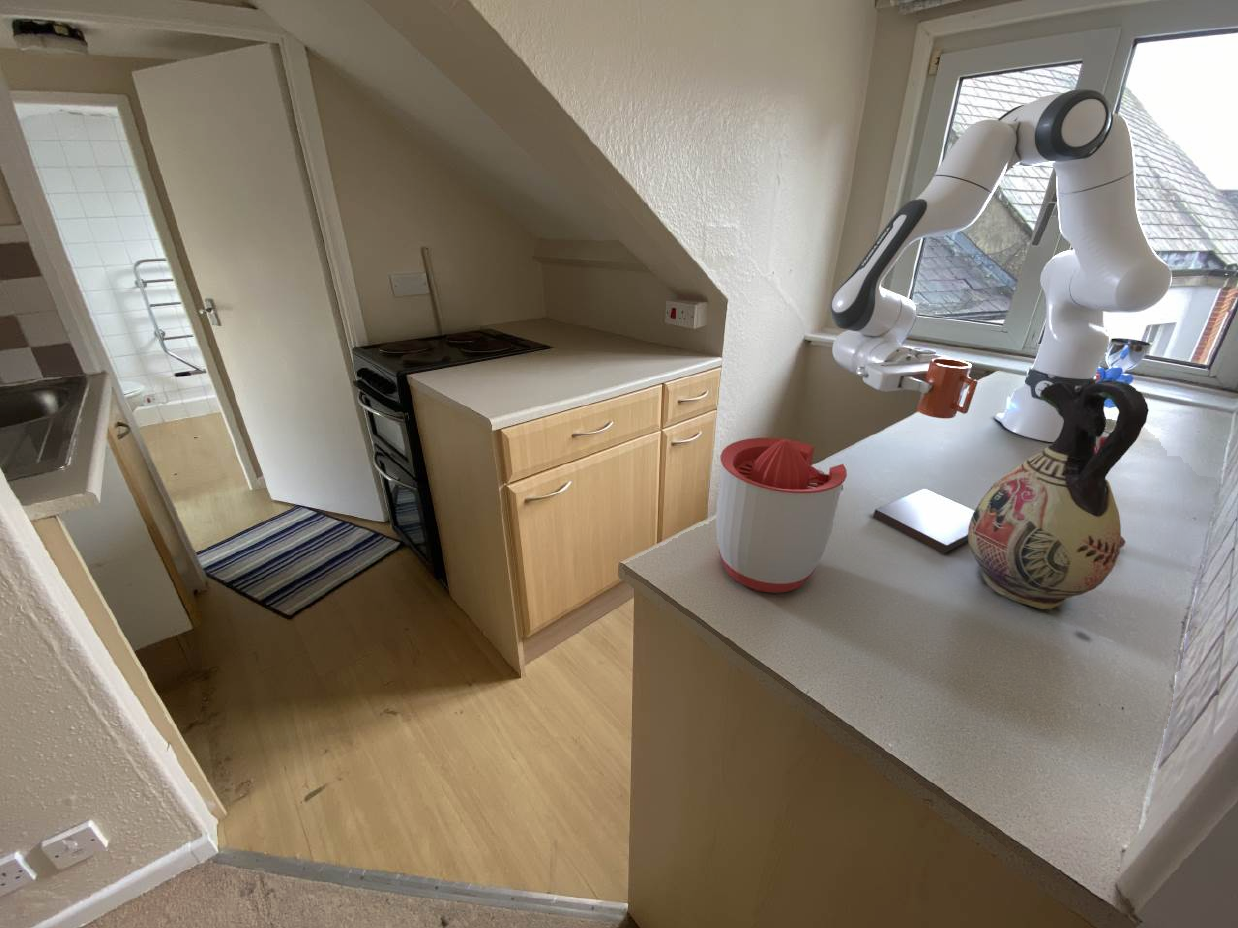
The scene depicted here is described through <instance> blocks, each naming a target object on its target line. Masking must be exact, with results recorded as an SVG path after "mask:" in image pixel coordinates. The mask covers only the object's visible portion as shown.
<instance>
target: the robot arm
mask: <svg viewBox="0 0 1238 928" xmlns="http://www.w3.org/2000/svg"><path fill="white" fill-rule="evenodd" d="M1134 151H1135V150H1134V145H1133V139H1132V135H1131V131H1130V128H1129V125H1128V122H1127V120H1126V118H1125V117H1124V116H1122V115H1120V114H1117V113H1112V110H1111V106H1110V103H1109V101H1108V100H1107V98H1106V96H1104V95H1103V93H1101V92H1099V91H1097V90H1094V89H1088V88H1078V89H1071V90H1068V91H1066V92H1065V91H1064V92H1059V93H1053V94H1049V95H1045V96H1042V97H1039V98H1037V99H1036V100H1035V99H1034V100H1033V101H1031V102H1027V103H1026V104H1022V105H1018V106H1015V107H1013V108H1012V109H1009V110H1008V111H1007V112H1005V113H1004V114H1002V115H1001V116H1000V117H999V118H997V119H983V120H979V121H975V123H972V124H971V125H969V126H968V127H967V128H965V130H964V131H963V132H962V134H961V135H960V136H959V138H958V139H957V140H956V141H955V142H954V144H953V145H952V147H951V149H949V151H948V152H947V153H946V155H945V157H944V159H943V160H942V162H941V163H940V165H939V167H938V168H937V170H936V172H935V173H934V175H933V177H932V178H931V181H930V182H929V183H928V185H927V186H926V188H925V189H924V190H923V191H922V192H921V193H920V195H918V196H917V197H916V198H914V199H913V200H909V201H907V202H906V203H904V204H903V205H902V206H901V207H900V208H899V209H898V210H897V212H896V213H895V214H894V215H893V216H892V218H891V219H890V220H889V222H888V223H887V224H886V226H885V227H884V228H883V229H882V231H881V232H880V234H879V235H878V237H877V238H876V240H875V241H874V243H873V244H872V245H871V246H870V249H869V250H868V251H867V252H866V254H865V255H864V257H863V258H862V260H861V261H860V263H859V264H858V265H857V266H856V268H855V269H854V270H853V272H852V273H851V274H850V276H848V278H847V279H846V280H845V281H843V283H842V284H841V285H840V286H839V288H838V289H837V290H836V291H835V293H834V294H833V296H832V298H831V301H830V314H831V318H832V321H833V323H834V324H835V326H836V327H838V328H840V329H843V330H845V331H843V332H841V333H839V334H838V335H837V337H836V338H835V339H834V341H833V344H832V348H831V349H832V351H831V352H832V356H833V358H834V360H835V362H836V364H838V365H839V366H840V367H841V368H843V369H844V370H846V371H848V372H850V373H851V374H854V375H856V376H858V377H862V382H863V383H864V384H866V385H868V386H869V387H871V388H873V389H875V390H877V391H880V392H894V391H903V390H910V391H916V392H920V393H921V392H923V393H929V392H932V391H933V388H934V384H933V383H931V382H929V381H924V380H925V377H926V373H927V370H928V367H929V363H930V360H931V359H933V358H949V359H952V358H951V357H949V356H946V355H942V354H938V353H937V351H936V350H935V349H932V348H926V347H915V346H914V347H913V346H909V345H906V344H904V343H906V342H905V341H906V340H907V339H908V337H909V336H910V334H911V333H912V331H913V329H914V327H915V324H916V322H917V318H918V308H917V305H916V303H915V302H914V300H912V299H910V298H908V297H906V296H904V295H901V294H899V293H897V292H894V291H891V290H889V289H886V288H885V287H882V286H881V285H882V282H883V280H884V279H885V278H886V276H887V275H888V273H889V272H890V271H891V269H892V268H893V266H894V265H895V264H896V263H897V262H898V259H899V258H901V256H902V254H903V253H904V252H905V250H906V249H907V248H908V247H909V246H910V245H911V244H912V243H914V242H917V241H918V240H921V239H923V238H929V237H931V238H932V237H933V238H934V237H945V236H951V235H954V234H957V233H960V232H962V231H964V230H966V229H967V228H969V227H970V226H972V225H973V223H975V221H976V220H977V219H978V218H979V217H980V215H981V214H982V213H983V211H984V210H985V208H986V206H987V204H988V203H989V201H990V200H991V198H992V196H993V195H994V193H995V191H996V190H997V187H998V186H999V184H1000V183H1001V180H1002V179H1003V177H1004V176H1005V175H1006V174H1007V173H1008V171H1010V170H1011V169H1017V168H1034V167H1039V166H1043V165H1046V164H1051V166H1052V167H1053V169H1054V171H1055V174H1056V198H1057V199H1056V200H1057V211H1058V224H1059V231H1060V234H1061V236H1062V237H1063V238H1064V239H1065V240H1066V241H1067V242H1068V243H1069V244H1070V246H1071V248H1072V249H1070V250H1066V251H1062V252H1060V253H1058V254H1056V255H1054V256H1053V257H1052V258H1051V259H1049V260H1048V261H1047V262H1046V263H1045V265H1044V267H1043V269H1042V271H1041V273H1040V278H1039V282H1040V283H1039V284H1040V287H1041V289H1042V291H1043V293H1044V296H1045V304H1046V305H1045V325H1044V331H1043V334H1042V335H1043V336H1042V338H1041V342H1040V345H1039V347H1038V351H1037V354H1036V356H1035V359H1034V362H1033V364H1032V366H1029V369H1028V371H1027V372H1026V374H1025V379H1024V384H1023V385H1020V386H1018V387H1015V388H1014V390H1013V392H1012V394H1011V397H1010V396H1008V397H1007V399H1006V408H1005V410H1004V412H1002V413H997V414H996V416H995V419H996V421H998V422H1000V423H1001V424H1002V426H1003V427H1004V428H1006V429H1007V430H1009V431H1010V432H1012V433H1014V434H1017V435H1020V436H1023V437H1026V438H1030V439H1034V440H1037V441H1042V442H1049V443H1054V441H1055V440H1056V439H1057V438H1058V436H1059V435H1060V432H1061V430H1062V427H1063V423H1064V420H1063V418H1062V417H1061V416H1060V415H1059V414H1058V412H1057V410H1056V409H1055V408H1054V407H1053V406H1051V405H1050V404H1048V403H1047V402H1046V401H1044V400H1043V399H1042V398H1041V397H1040V393H1041V392H1042V391H1043V390H1044V389H1045V388H1046V387H1048V386H1050V385H1052V384H1054V383H1056V382H1059V381H1063V382H1067V383H1068V384H1069V385H1070V386H1071V387H1072V388H1073V389H1074V390H1075V389H1077V388H1079V387H1081V386H1082V385H1084V384H1085V382H1086V381H1087V380H1094V381H1095V383H1096V382H1097V381H1098V379H1099V377H1100V374H1096V373H1097V371H1098V368H1099V367H1101V363H1102V361H1103V360H1104V357H1105V355H1106V352H1107V348H1108V346H1109V343H1110V337H1109V334H1108V332H1107V330H1106V328H1105V324H1104V312H1105V313H1110V314H1129V313H1139V312H1143V311H1145V310H1148V309H1150V308H1152V307H1154V306H1155V305H1156V304H1158V303H1159V302H1160V301H1161V300H1162V299H1163V298H1164V297H1165V295H1166V294H1167V292H1168V291H1169V290H1170V287H1171V284H1172V279H1173V273H1172V269H1171V267H1170V266H1169V265H1168V264H1167V263H1166V262H1165V261H1163V260H1162V259H1161V258H1160V257H1159V256H1158V255H1157V254H1156V252H1155V251H1154V249H1153V248H1152V246H1151V244H1150V242H1149V240H1148V238H1147V235H1146V233H1145V230H1144V228H1143V225H1142V223H1141V221H1140V216H1139V212H1138V207H1137V206H1138V205H1137V190H1136V189H1137V188H1136V187H1137V186H1136V160H1135V152H1134ZM968 388H969V384H968V383H966V386H965V389H964V390H968Z"/></svg>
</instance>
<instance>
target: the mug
mask: <svg viewBox="0 0 1238 928" xmlns="http://www.w3.org/2000/svg"><path fill="white" fill-rule="evenodd" d="M949 358H950V357H949ZM949 358H933V359H931V360H930V363H929V367H928V370H927V373H926V377H925V380H924V381H929V382H931V383H933V384H934V388H933V391H932V392H929V393H923V392H920V396H919V398H918V402H917V406H916V411H917V412H918V413H919V414H921V415H924V416H927V417H930V418H936V419H944V420H945V419H953V418H955V417H956V416H957V413H961V414H968V412H969V409H970V407H971V404H972V401H973V398H974V395H975V392H976V389H977V386H978V384H979V383H978V380H977V379H976V378H972V377H969V376H970V374H971V370H972V368H973V367H972V366H973V365H972V364H971V363H969V362H966V361H965V360H960V359H956V358H955V359H954V358H951V359H949ZM966 383H968V388H967V392H966V396H965V398H964V401H963V404H962V405H961V400H962V398H963V395H964V391H965V390H966V389H965V386H966Z"/></svg>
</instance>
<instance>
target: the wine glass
mask: <svg viewBox="0 0 1238 928" xmlns="http://www.w3.org/2000/svg"><path fill="white" fill-rule="evenodd" d="M1150 347H1151V343H1150V342H1148V341H1143V340H1139V339H1131V338H1120V337H1119V338H1118V337H1117V338H1115V337H1114V338H1111V339H1110V340H1109V345H1108V347H1107V350H1106V352H1105V362H1106V364H1107V366H1108V369H1109V368H1111V367H1115V366H1117V367H1121V368H1122V370H1123V372H1122V374H1125V372H1127V371H1129V370H1131V369H1133V368H1135V367H1137V366H1138V365H1139V364H1140V363H1141V361H1143V359H1144V358H1145V356H1146V355H1147V353H1148V351H1149V349H1150Z"/></svg>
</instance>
